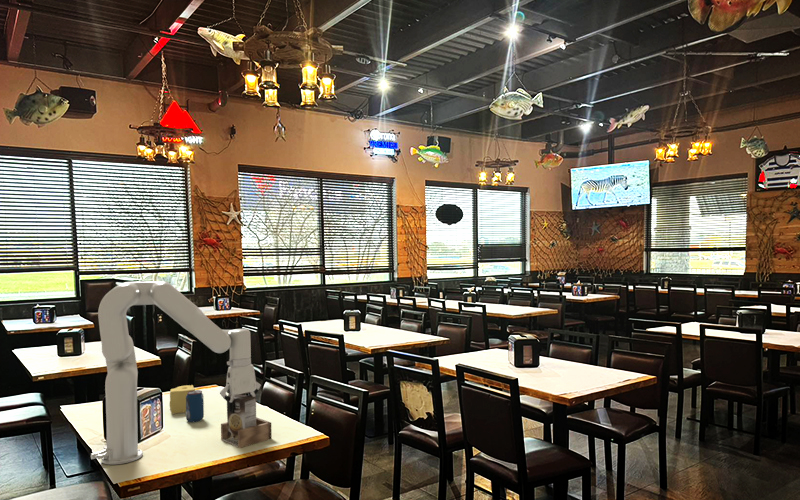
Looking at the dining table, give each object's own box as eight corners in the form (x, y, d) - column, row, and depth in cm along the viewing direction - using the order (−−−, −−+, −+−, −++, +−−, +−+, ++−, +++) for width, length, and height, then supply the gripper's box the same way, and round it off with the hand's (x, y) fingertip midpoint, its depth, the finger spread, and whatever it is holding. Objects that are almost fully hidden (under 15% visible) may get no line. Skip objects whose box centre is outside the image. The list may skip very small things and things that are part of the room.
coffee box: (226, 441, 202) (225, 397, 202) (239, 435, 208) (238, 393, 208) (244, 445, 198) (243, 400, 198) (257, 439, 203) (256, 396, 203)
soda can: (206, 418, 232) (206, 390, 232) (199, 423, 225) (198, 394, 226) (191, 418, 233) (190, 389, 233) (183, 422, 226) (182, 393, 226)
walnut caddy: (239, 447, 195) (239, 431, 195) (221, 439, 204) (220, 423, 204) (271, 438, 204) (271, 422, 204) (252, 431, 214) (252, 415, 214)
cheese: (169, 408, 248) (169, 386, 248) (194, 405, 253) (194, 384, 253) (170, 414, 239) (170, 391, 239) (196, 411, 243) (196, 388, 244)
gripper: (223, 367, 194) (224, 417, 194) (266, 360, 207) (267, 406, 207) (213, 364, 199) (214, 413, 199) (255, 357, 212) (256, 403, 212)
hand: (241, 409), depth 203 cm, fingers closed on coffee box, 7 cm apart
